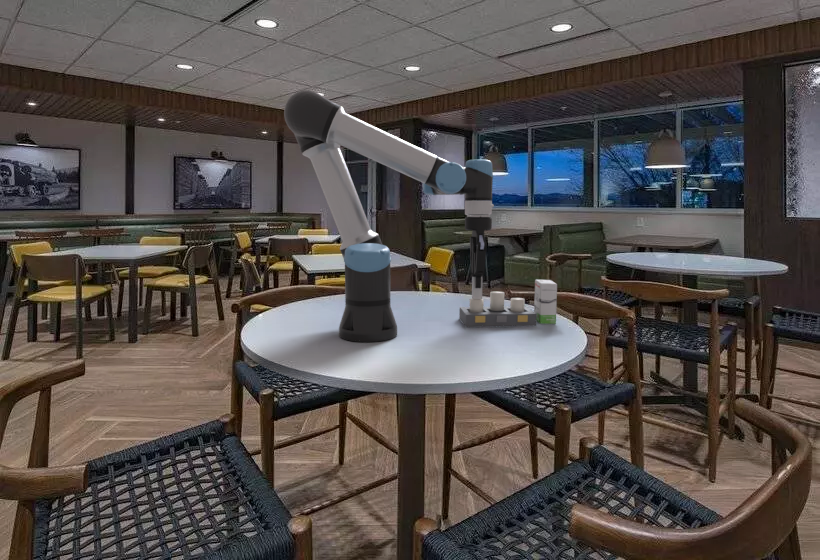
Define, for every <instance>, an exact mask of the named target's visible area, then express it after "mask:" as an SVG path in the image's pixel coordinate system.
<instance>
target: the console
mask: <svg viewBox="0 0 820 560" xmlns="http://www.w3.org/2000/svg"><path fill="white" fill-rule="evenodd" d="M469 308H470V306H459V315H458V316H459V320H460V322H461V323H462V325H463V326H464V327H466V328H476V327H478V328H483V327H484V328H485V327H489V328H490V327H491V328H492V327H493V328H496V326H497V327H499V326H500V327H537V320H536V319H537V314H536V313H535V312H534V310H532V309H530V308H529V307H527V306H526V305H525V306H524V312H511V311H510V306H509V305H508V306H504V310H503V311H492V310H490V306H483V312H469Z"/></svg>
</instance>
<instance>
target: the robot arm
mask: <svg viewBox="0 0 820 560" xmlns="http://www.w3.org/2000/svg"><path fill="white" fill-rule="evenodd" d="M283 111H284V112H283V114H284V121H285V124H286V125H287V127H288V129H289V130H290V131H291V132H292V133H293V134H294V137H295V139H296V142H297V144H298V147H299V149H300V152H301V154H302V156H304V157H306V158H308V159H309V160H310V161H311V165H312V166H313V169H314V172H315V174H316V177H317V180H318V182H319V184H320V185H319V186H320V188H321V190H322V192H323V195H324V197H325V200H326V203H327V206H328V207H329V210H330V213H331V216H332V218H333V220H334V223H335V226H336V227H337V230H338V233H339V236H340V238H341V241H342V242H341V245H340V246H339V250H340V254H341V255H342V258H343V262H344V287H345V289H344V290H345V291H344V296H345V297H344V298H345V299H344V302H345V306H344V309H343V314H342V316H341V320H340V323H339V327H338V337H339V338H340V339H342V340H346V341H351V342H360V343H372V342H373V343H375V342H383V341H388V340H391V339H392V340H393V339H394V338H396V337H397V336H398V325H397V322H396V321H397V320H396V318H395V316H394V312H393V309H392V307H391V261H392V256H391V251H390V248H389V247H388V246H387V245H385V244H383V243H382V240H381V238H380V235H379V233H377V232H376V231H374V230H372V228H371V227H370V224H369V221H368V218H367V215H366V213H365V210H364V208H363V205H362V203H361V200H360V197H359V195H358V192H357V190H356V187H355V185H354V182H353V179H352V177H351V173H350V171H349V169H348V165H347V164H346V161H345V159H344V155H343V153H342V151H341V146H342V147H343V148H346V149H348V150H351V151H353V152H354V153H356V154H359V155H361V156H363V157H366V158H368V159H370V160H372V161H374V162H377V163H379V164H381V165H383V166H386V167H388V168H390V169H392V170H394V171H397V172H399V173H401V174H403V175H405V176H407V177H410V178H412V179H414V180H416V181H418V182H421V183H422V192H423V193H424V194H425V195H429V196H430V195H432V196H437V195H438V196H450V195H452V196H453V195H455V196H456V195H459V196H464V215H466V217H464V229H465V231H471V236H469V240H468V241H469V250H470V251H469V252H470V254H469V255H470V259H469V260H470V273H471V274H470V276H471V299H483V276H485V274H486V272H485V270H486V255H487V247H488V243H487V237H486V235H485V231H491V230H492V229H493V228H492V223H493V221H492V220H493V219H492V217H491V215H492V214H493V212H492V211H493V208H494V206H495V205H494V204H493V184H494V183H493V179H494V175H493V173H494V171H493V162H492V161H491V160H488V159H469V160H467V161H466V162H465V164H464V166H462V165H461V164H460V163H457V162H455V161H448V160H446V159H444V158H442V157H441V156H440V157H439V156H437V155H436V154H433V152H432V153H431V152H429V151H427V150H425V149H423V148H422V147H418V146H416V145H414V144H412V143H410V142H408V141H406V140H403V139H401V138H399V137H398V136H395V135H393V134H390V132H387V131H385V130H383V129H380V128H378V127H376V126H374V125H372V124H369V123H368V122H365V121H364V120H361V119H360V118H357V117H355V116H353V115H350V114H348V113H346V112H345V109H344V107H343V106H342V105H340V104H337V103H335V102H333V101H332V100H331V99H328V98H326V97H325V96H323V95H321V94H320V93H318V92H315V91H312V90H300V91H297V92H295V93H293V94H292V95H291V96H290V97H289V98H288V99H287V100H286V103H285V105H284V110H283Z"/></svg>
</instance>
